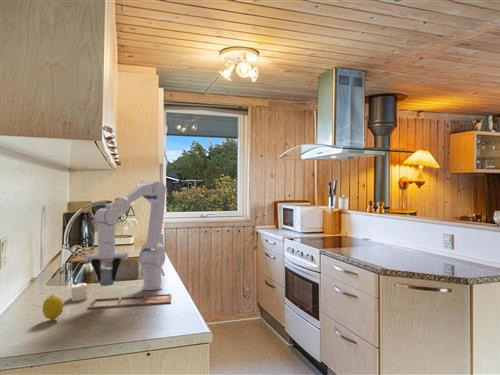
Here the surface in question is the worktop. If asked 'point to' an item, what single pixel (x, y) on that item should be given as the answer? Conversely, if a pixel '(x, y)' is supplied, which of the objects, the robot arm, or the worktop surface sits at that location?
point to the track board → (150, 301)
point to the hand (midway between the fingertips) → (106, 280)
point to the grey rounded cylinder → (106, 276)
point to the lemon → (52, 307)
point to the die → (79, 291)
